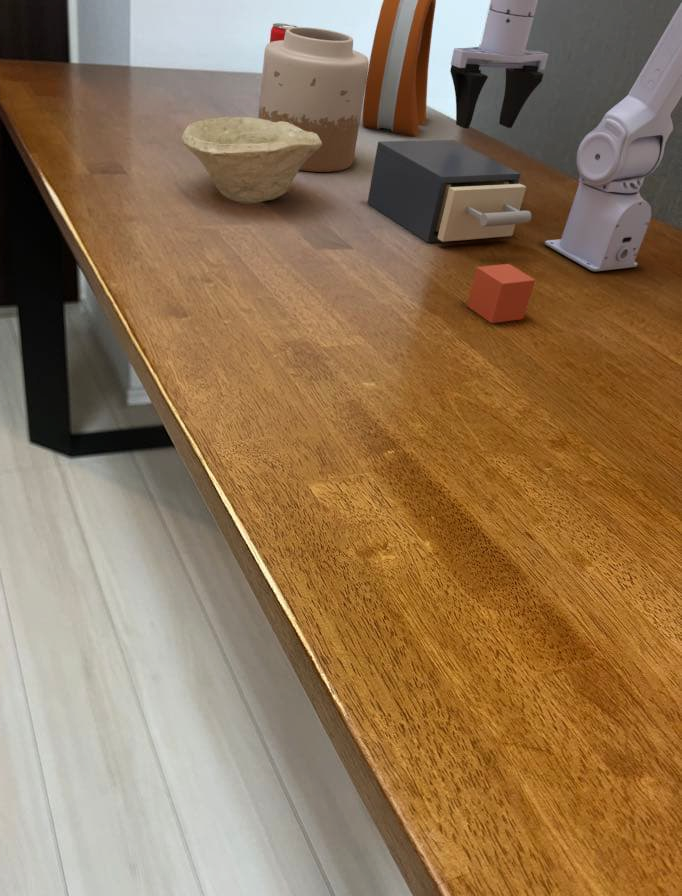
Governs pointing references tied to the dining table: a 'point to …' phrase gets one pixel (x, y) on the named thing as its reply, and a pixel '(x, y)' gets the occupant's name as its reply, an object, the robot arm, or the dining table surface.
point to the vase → (316, 91)
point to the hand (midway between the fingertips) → (484, 126)
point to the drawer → (480, 210)
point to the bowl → (250, 155)
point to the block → (500, 293)
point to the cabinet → (426, 179)
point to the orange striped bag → (399, 67)
